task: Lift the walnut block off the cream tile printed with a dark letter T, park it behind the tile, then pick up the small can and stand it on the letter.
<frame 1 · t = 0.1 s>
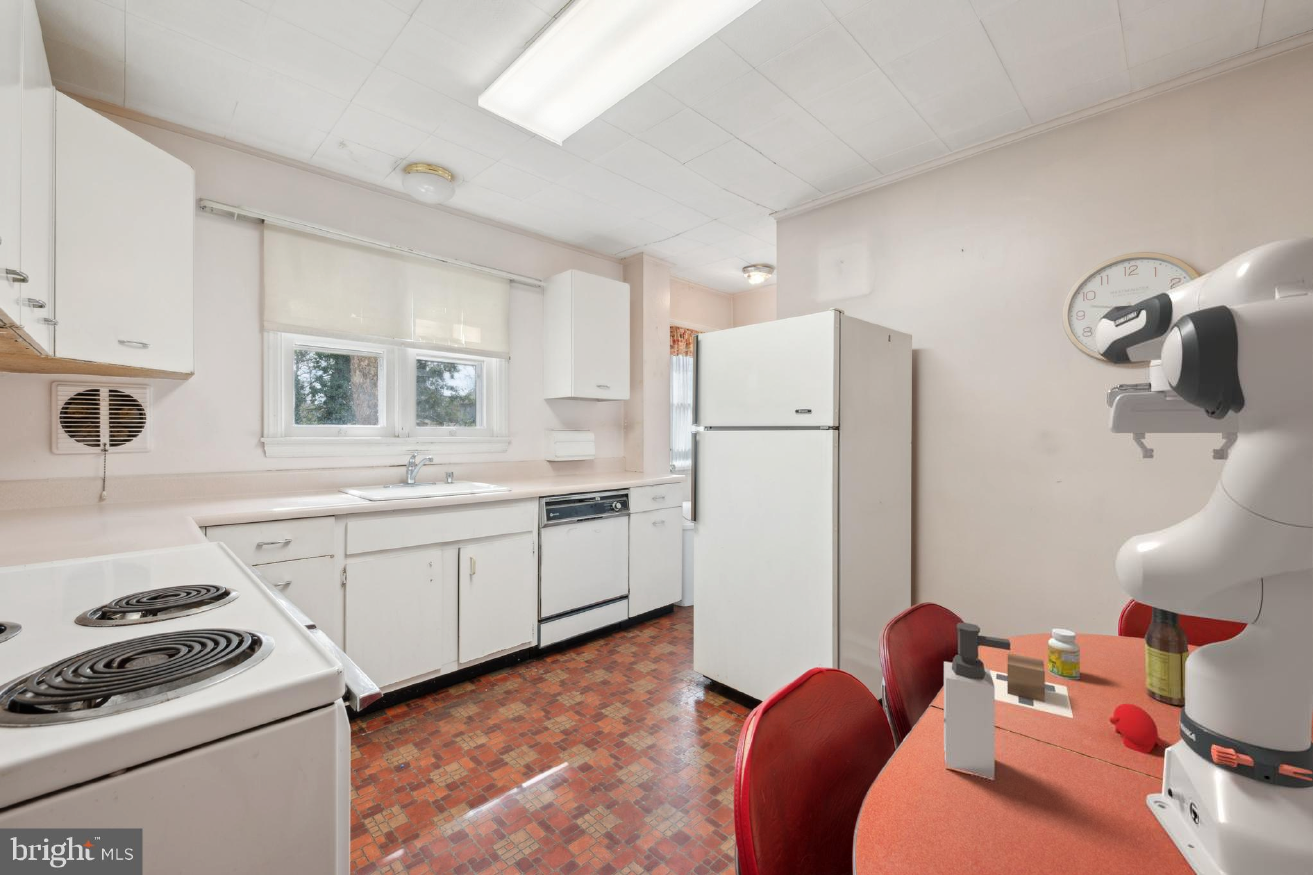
hand: (1182, 458, 94), 48 cm above the table, fingers open, 8 cm apart
soap dispenser: (976, 765, 84), on the table
sauce bottle: (1166, 699, 103), on the table
letter tile: (1025, 694, 105), on the table
red rounded lump: (1135, 745, 89), on the table
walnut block: (1025, 691, 105), point 1 cm above the table, touching letter tile
supplement bottle: (1063, 676, 113), on the table
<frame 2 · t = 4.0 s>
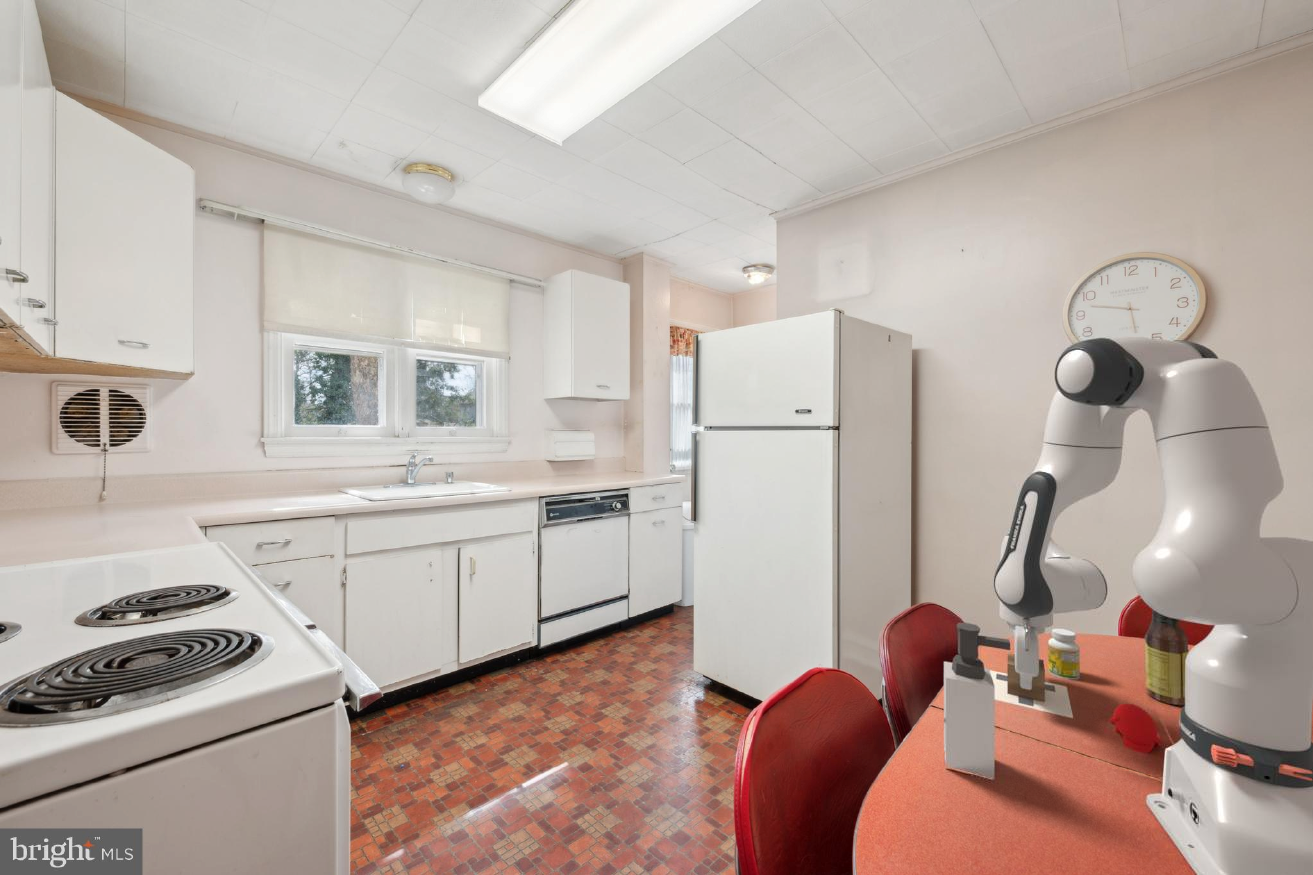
hand: (1025, 679, 105), 3 cm above the table, fingers closed on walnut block, 6 cm apart
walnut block: (1025, 691, 105), point 1 cm above the table, touching gripper, letter tile
everything else where it was.
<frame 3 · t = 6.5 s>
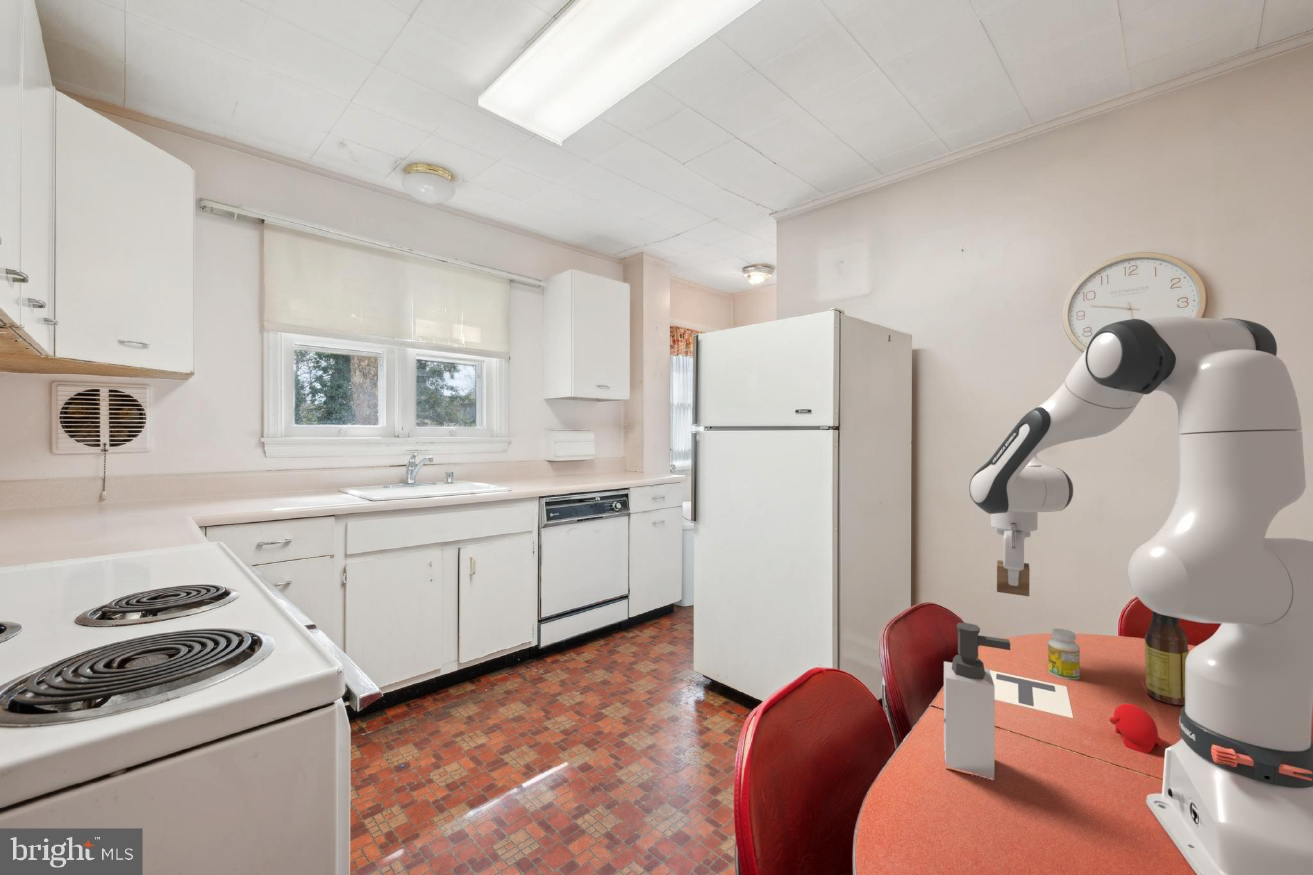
hand: (1013, 580, 119), 19 cm above the table, fingers closed on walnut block, 6 cm apart
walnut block: (1012, 590, 119), point 16 cm above the table, touching gripper
everything else where it was.
when the fingers open (3 cm above the table, at t = 9.3 s): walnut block drops 1 cm, on the table.
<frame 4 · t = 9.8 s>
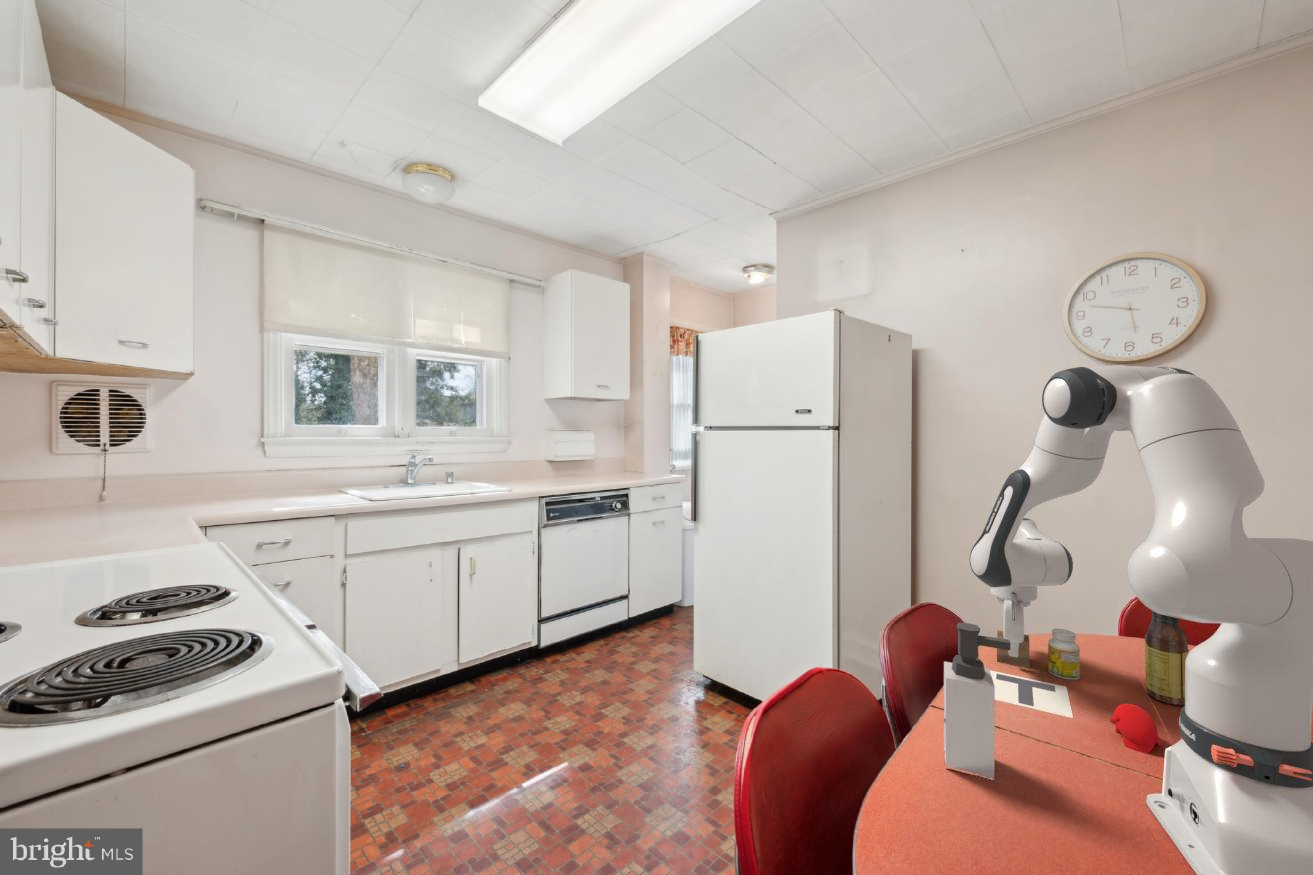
hand: (1013, 648, 120), 3 cm above the table, fingers open, 8 cm apart
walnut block: (1012, 662, 120), on the table
everything else where it was.
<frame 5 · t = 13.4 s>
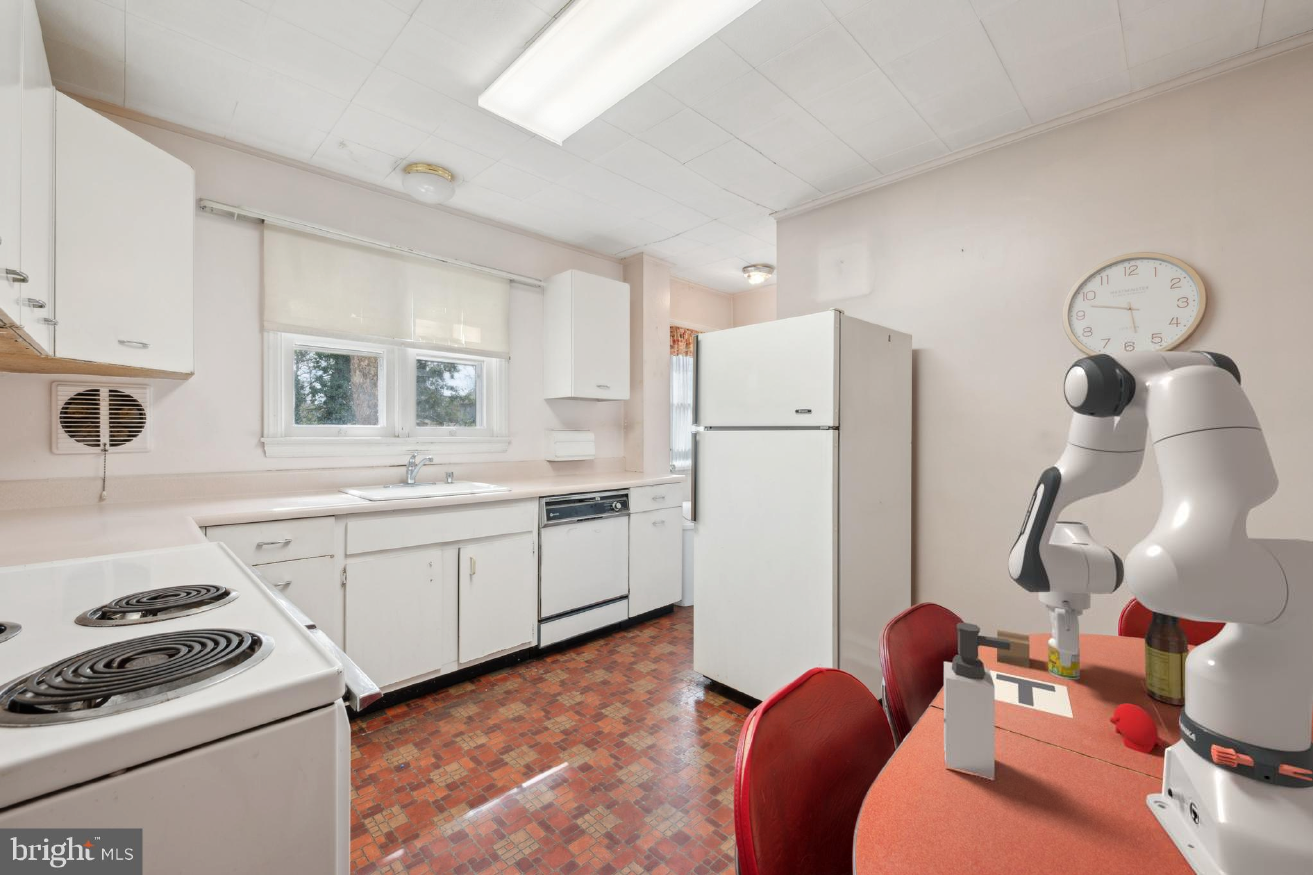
hand: (1063, 659, 113), 4 cm above the table, fingers closed on supplement bottle, 5 cm apart
supplement bottle: (1063, 676, 113), on the table, touching gripper
everything else where it was.
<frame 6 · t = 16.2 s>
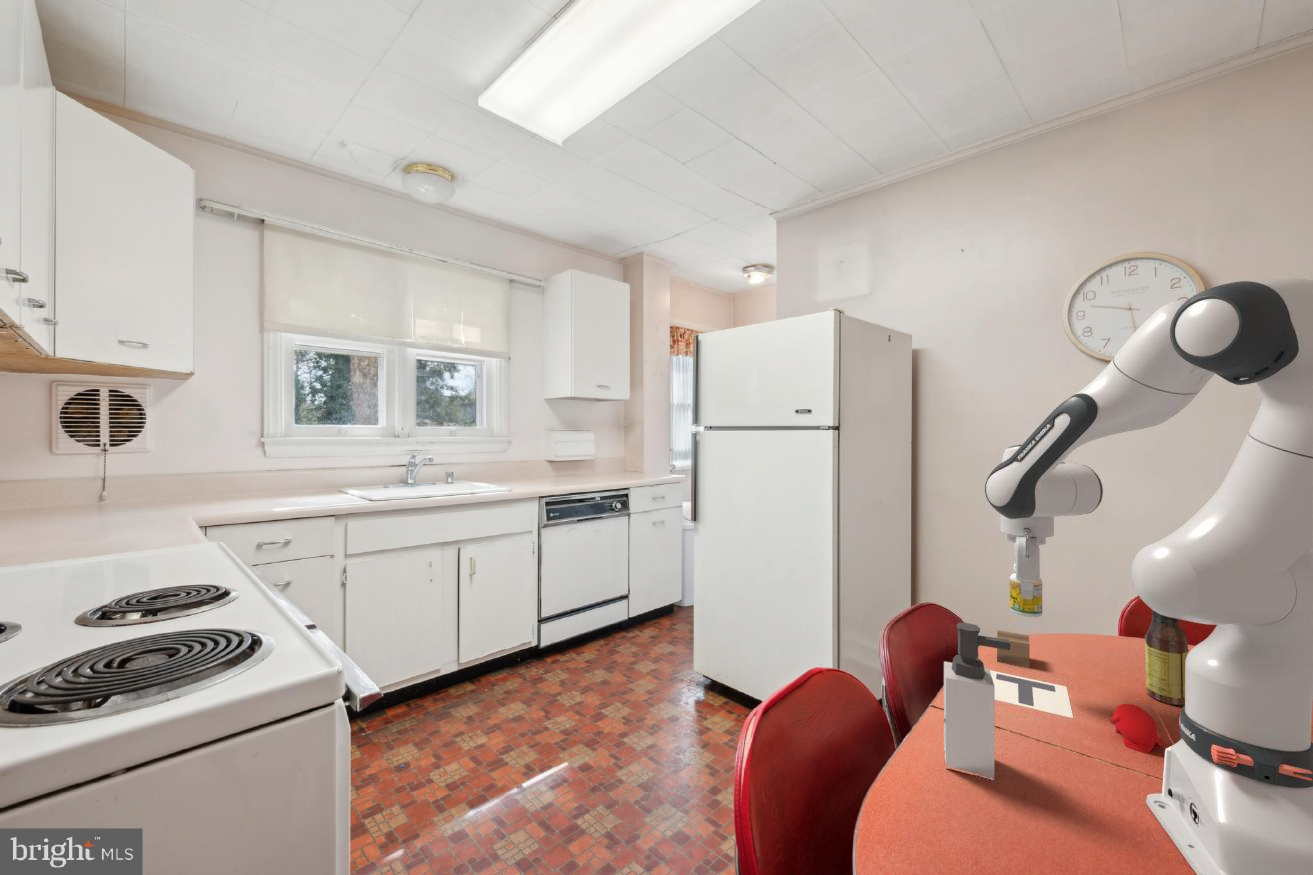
hand: (1026, 593, 105), 20 cm above the table, fingers closed on supplement bottle, 5 cm apart
supplement bottle: (1025, 614, 105), point 16 cm above the table, touching gripper
everything else where it was.
when the fingers open (5 cm above the table, at t = 19.3 s): supplement bottle stays where it is, resting on letter tile.
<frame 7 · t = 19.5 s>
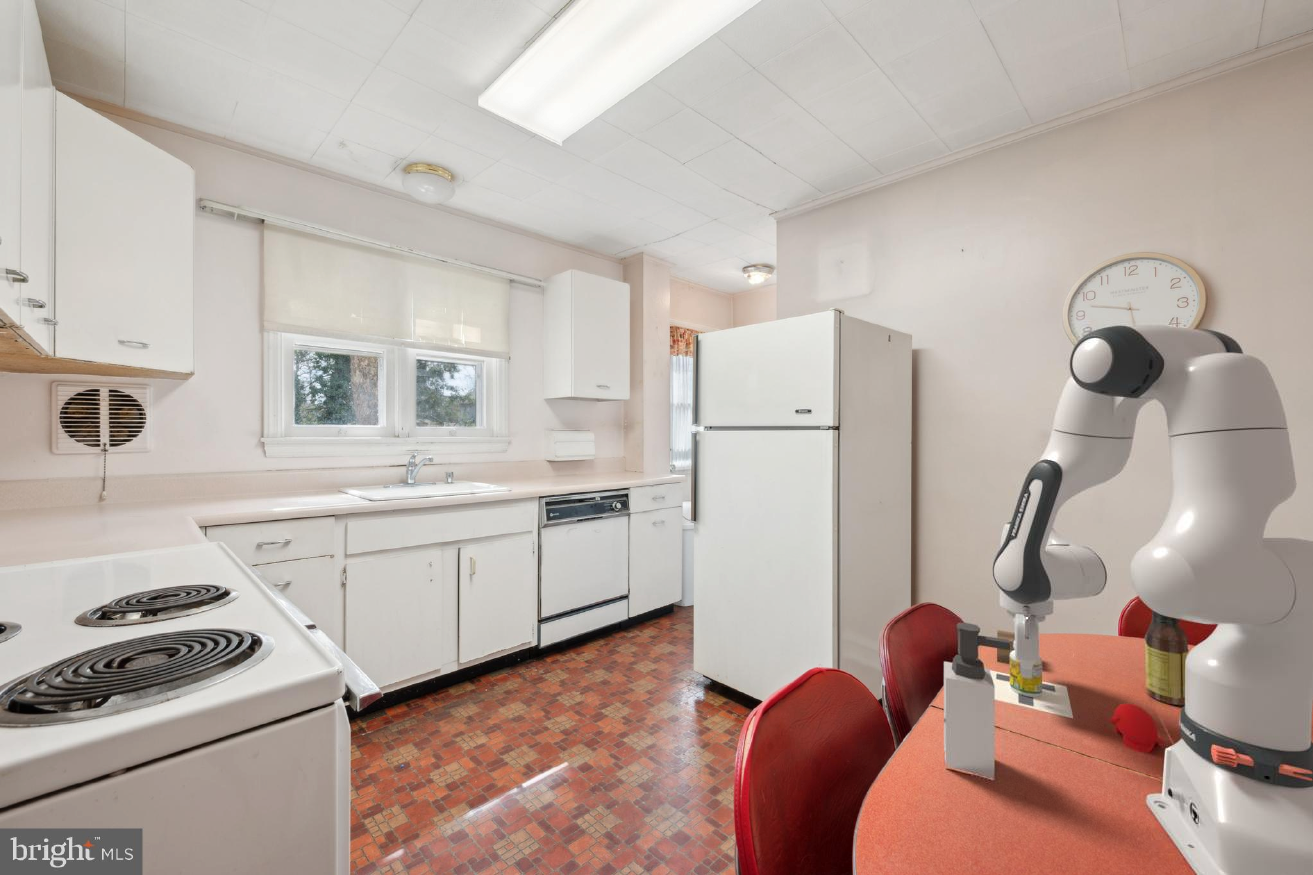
hand: (1025, 668, 105), 5 cm above the table, fingers open, 7 cm apart
supplement bottle: (1025, 692, 105), resting on letter tile
everything else where it was.
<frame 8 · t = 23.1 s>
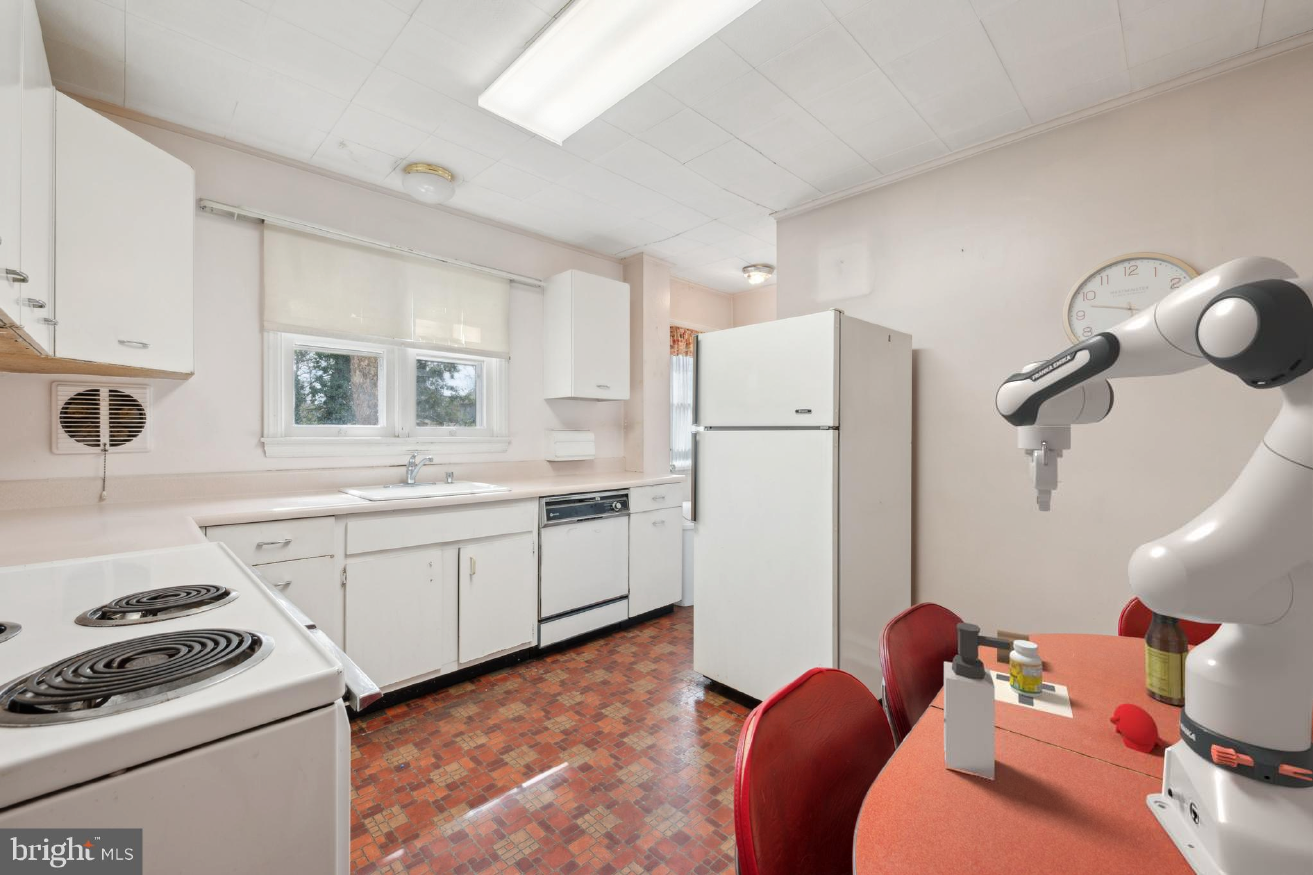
hand: (1043, 507, 108), 37 cm above the table, fingers open, 8 cm apart
nothing on the table moved.
at the end: supplement bottle inside the target area on the letter tile (0.2 cm from its centre), point 0.4 cm above the letter tile's base; supplement bottle tilted 0°; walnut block inside the target area (1.0 cm from its centre), on the table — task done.
